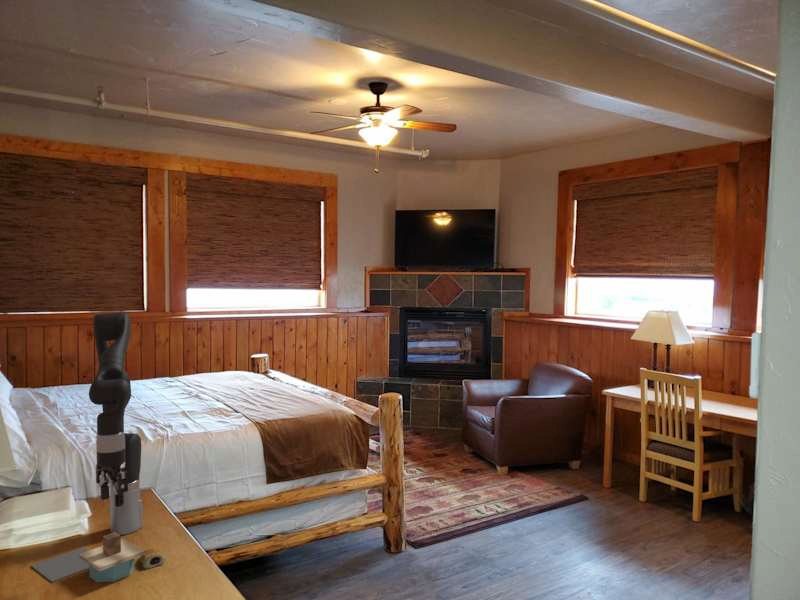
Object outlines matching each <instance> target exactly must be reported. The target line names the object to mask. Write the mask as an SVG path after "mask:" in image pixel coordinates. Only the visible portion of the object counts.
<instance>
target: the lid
mask: <svg viewBox="0 0 800 600" xmlns="http://www.w3.org/2000/svg"><path fill="white" fill-rule="evenodd" d="M121 537H122V535H119V534H117V533H116V532H114V533H111V532H110V533H107V534H104V535H103V536H102V545H101V546H98V547H96V548H92V549H89V550H88V551H86V552H83V553H81V554H79V558H81V559H82V560H84V561H85V562H87V563H88V564H90V565H91V566H93V567H94V568H96V569H97V570H99V571H102V570H105V569H107V568H110V567H113V566H115V565H118V564H120V563H123V562H126V561H128V560H131V559H134V558H135V559H136V558H139V557H141V555H144V554H145V550H144V549H142V548H140V547H139V546H137V545H135V544H134V543H131V542H130V541H127V540H126V539H125V538H121Z"/></svg>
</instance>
